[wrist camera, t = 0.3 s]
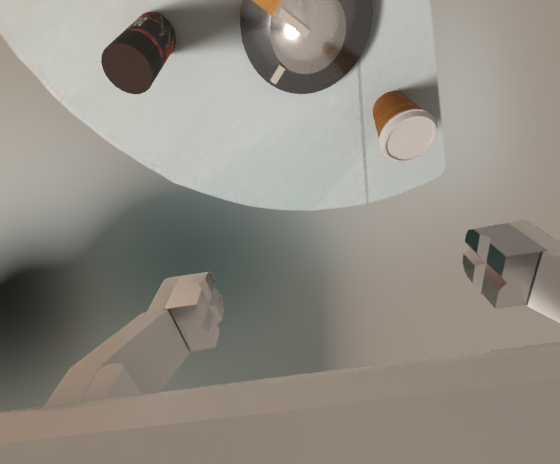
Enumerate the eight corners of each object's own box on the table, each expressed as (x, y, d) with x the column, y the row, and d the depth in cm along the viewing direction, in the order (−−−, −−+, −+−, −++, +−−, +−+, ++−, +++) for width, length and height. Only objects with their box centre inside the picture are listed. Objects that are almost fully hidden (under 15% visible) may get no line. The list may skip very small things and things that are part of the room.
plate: (288, -109, 37) (289, -110, 35) (396, 1, 45) (401, 4, 44) (219, 45, 49) (217, 50, 47) (315, 109, 57) (316, 115, 56)
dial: (357, 15, 45) (362, 21, 42) (312, 80, 51) (314, 88, 49) (248, -84, 37) (248, -83, 34) (212, 8, 43) (209, 14, 41)
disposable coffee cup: (423, 84, 55) (451, 115, 47) (402, 132, 62) (424, 166, 54) (373, 79, 54) (393, 110, 46) (358, 128, 61) (372, 163, 53)
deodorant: (157, 3, 45) (126, 33, 34) (183, 44, 49) (162, 81, 39) (127, 24, 46) (90, 58, 36) (155, 62, 50) (128, 101, 40)
